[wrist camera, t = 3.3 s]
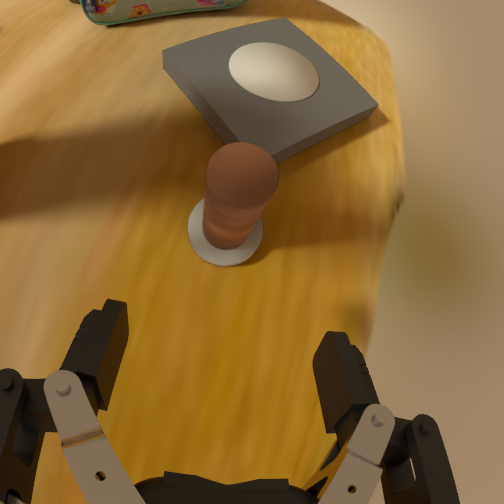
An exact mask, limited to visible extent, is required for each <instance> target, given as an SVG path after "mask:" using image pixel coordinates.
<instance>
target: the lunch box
mask: <svg viewBox="0 0 504 504" xmlns="http://www.w3.org/2000/svg"><path fill="white" fill-rule="evenodd" d="M247 1H248V0H80V4H81V7H82V9H83V11H84V13H85V15H86V16H87V17H88V19H89V20H90V21H92V22H93V23H95V24H98V25H113V24H118V23H120V24H121V23H126V22H132V21H138V20H143V19H149V18H155V17H160V16H167V15H174V14H179V13H186V12H196V11H208V10H218V9H229V8H233V7H237V6H239V5H242V4H243V3H245V2H247Z"/></svg>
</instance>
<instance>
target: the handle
mask: <svg viewBox="0 0 504 504" xmlns="http://www.w3.org/2000/svg"><path fill="white" fill-rule="evenodd" d="M278 182H279V172H278V168H277V165H276V163H275V161H274V159H273V158H272V157H271V156H270V154H269V153H267V152H266V151H265V150H264V149H262V148H260V147H259V146H256V145H254V144H250V143H245V142H236V143H230V144H227V145H225V146H223V147H221V148H219V149H218V150H217V151H216V152H215V153H214V154H213V155H212V156H211V158H210V160H209V162H208V165H207V172H206V184H205V195H204V199H202V200H201V201H200V202H199V203H197V205H196V206H195V207H194V209H193V210H192V212H191V214H190V217H189V221H188V236H189V241H190V244H191V246H192V248H193V250H194V251H195V253H196V254H197V255H198V256H199V257H200V258H201V259H203V260H204V261H205V262H207V263H209V264H212V265H214V266H219V267H232V266H236V265H239V264H241V263H243V262H245V261H246V260H247V259H249V258H250V257H251V256H252V255H253V254H254V252H255V251H256V250H257V248H258V247H259V245H260V243H261V240H262V236H263V222H262V218H261V216H260V215H261V214H262V212H263V210H264V208H265V207H266V205H267V203H268V202H269V200H270V198H271V197H272V195H273V193H274V192H275V190H276V188H277V185H278Z"/></svg>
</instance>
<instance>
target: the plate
mask: <svg viewBox="0 0 504 504" xmlns="http://www.w3.org/2000/svg"><path fill="white" fill-rule="evenodd" d="M162 53H163V69H164V70H165V71H166V72H167V73H168V75H169V76H170V77H171V78H172V79H173V81H174V82H175V83H176V84H177V85H178V87H179V88H180V89H181V90H182V91H183V93H184V94H185V95H186V96H187V98H188V99H189V100H190V101H191V102H192V104H193V105H194V106H195V107H196V109H197V110H198V111H199V112H200V114H201V115H202V116H203V117H204V119H205V120H206V121H207V122H208V124H209V125H210V126H211V127H212V129H213V130H214V131H215V132H216V134H217V135H218V136H219V138H220V139H221V140H222V141H223V143H224V144H225V145H227V144H230V143H236V142H245V143H250V144H254V145H256V146H259V147H260V148H262V149H264V150H265V151H266V152H267V153H269V154H270V156H271V157H272V158H273V159H274V161H275V163H276V164H278V163H280V162H282V161H284V160H285V159H287V158H289V157H291V156H293V155H295V154H297V153H299V152H301V151H302V150H304V149H306V148H308V147H310V146H312V145H314V144H316V143H318V142H320V141H322V140H324V139H326V138H328V137H330V136H332V135H334V134H336V133H338V132H340V131H342V130H344V129H346V128H348V127H350V126H352V125H355V124H357V123H359V122H361V121H363V120H365V119H367V118H368V117H369V116H370V115H371V113H372V112H373V111H374V110H375V109H376V107H377V106H378V105H379V104H378V103H377V102H376V101H375V100H374V99H373V98H372V97H371V96H370V95H369V93H368V92H367V91H366V90H365V89H364V88H363V87H362V86H361V85H360V84H359V83H358V82H357V81H356V80H355V79H354V78H353V77H352V76H351V75H350V74H349V73H348V72H347V71H346V70H345V69H344V68H343V67H342V66H341V65H340V64H339V63H338V62H337V61H336V60H335V59H333V58H332V57H331V56H330V55H329V54H328V53H327V52H326V51H325V50H324V49H322V48H321V47H320V46H319V45H318V44H317V43H316V42H314V41H313V40H312V39H311V38H310V37H309V36H307V35H306V34H305V33H304V32H303V31H301V30H300V29H299V28H298V27H296V26H295V25H294V24H293V23H291V22H290V21H289V20H288V19H286V18H279V19H274V20H268V21H263V22H258V23H253V24H249V25H244V26H240V27H236V28H232V29H228V30H224V31H220V32H217V33H213V34H210V35H206V36H203V37H200V38H197V39H193V40H190V41H187V42H184V43H181V44H179V45H176V46H173V47H170V48H167V49H165V50H162Z"/></svg>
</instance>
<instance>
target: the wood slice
mask: <svg viewBox="0 0 504 504" xmlns="http://www.w3.org/2000/svg"><path fill="white" fill-rule="evenodd" d="M69 1H70V2H72V3H75V4H80V0H69Z"/></svg>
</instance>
